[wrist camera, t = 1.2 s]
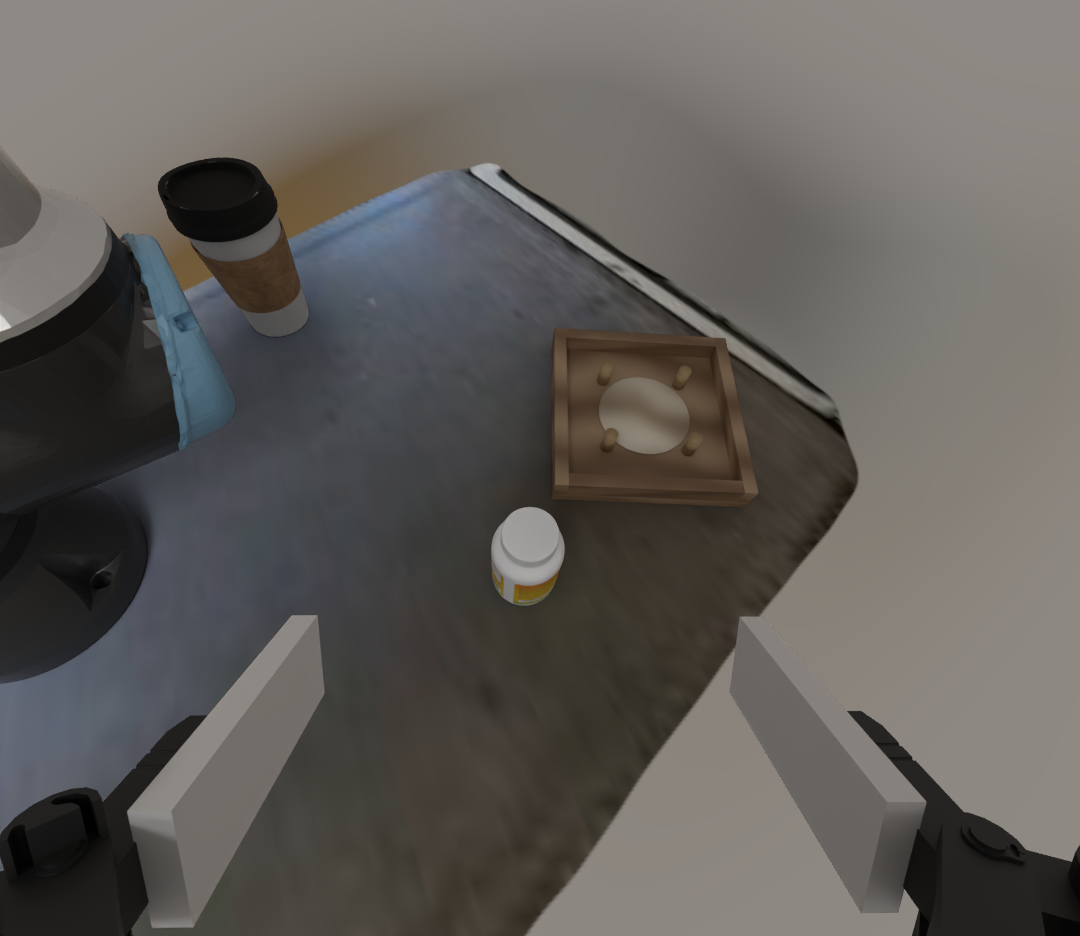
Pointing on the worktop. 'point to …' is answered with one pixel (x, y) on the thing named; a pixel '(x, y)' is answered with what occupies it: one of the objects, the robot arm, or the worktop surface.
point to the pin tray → (647, 420)
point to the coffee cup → (238, 239)
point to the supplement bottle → (526, 556)
